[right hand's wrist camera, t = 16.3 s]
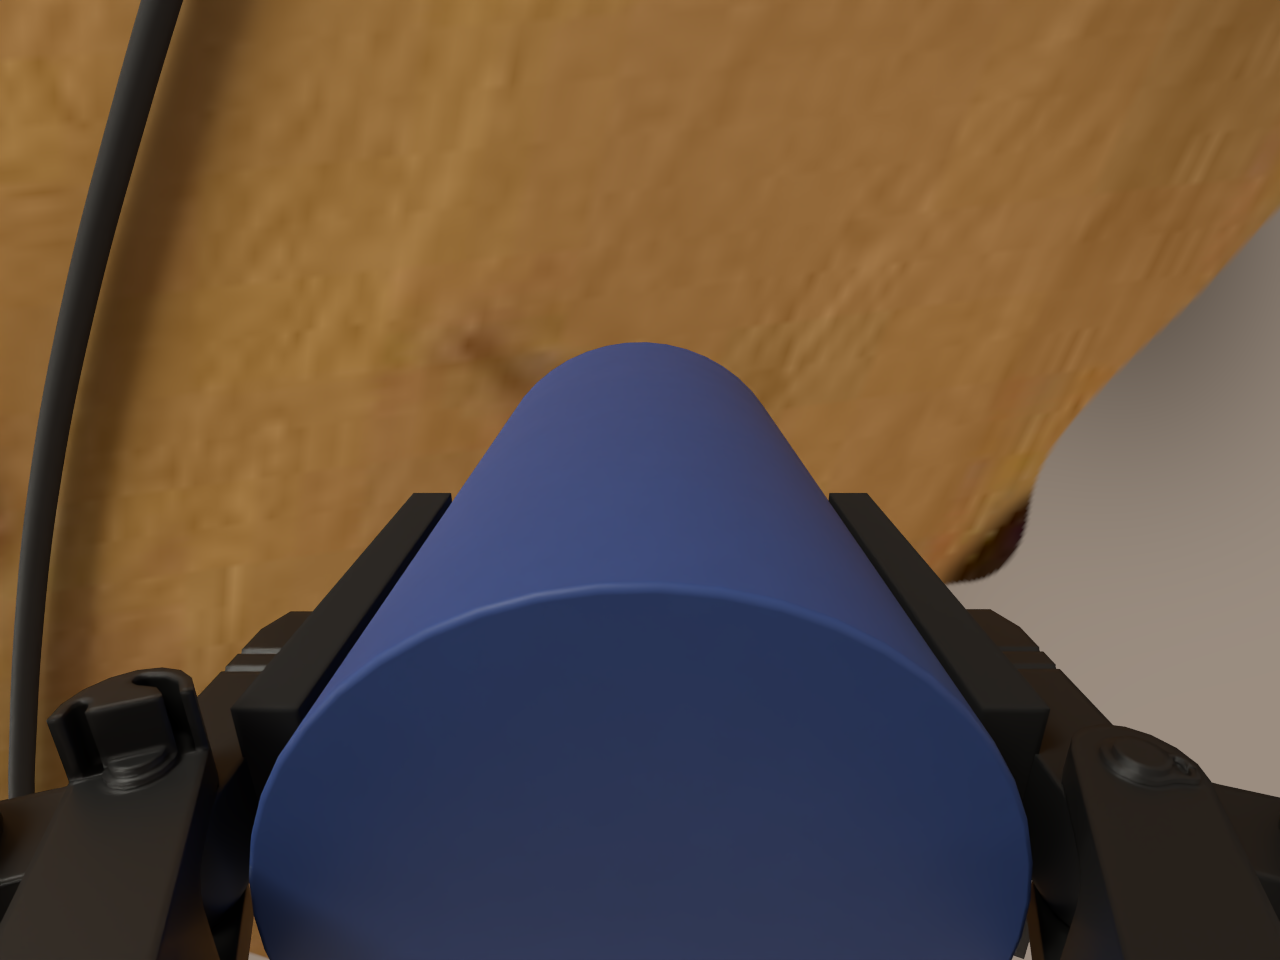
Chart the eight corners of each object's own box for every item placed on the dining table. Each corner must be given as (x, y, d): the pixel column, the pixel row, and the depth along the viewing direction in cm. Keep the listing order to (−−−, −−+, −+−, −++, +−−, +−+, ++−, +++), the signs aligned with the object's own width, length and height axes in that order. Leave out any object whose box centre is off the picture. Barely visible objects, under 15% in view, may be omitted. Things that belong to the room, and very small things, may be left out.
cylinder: (704, 648, 20) (790, 1216, 8) (456, 549, 19) (170, 1049, 7) (838, 418, 17) (1211, 779, 6) (562, 289, 16) (382, 432, 5)
